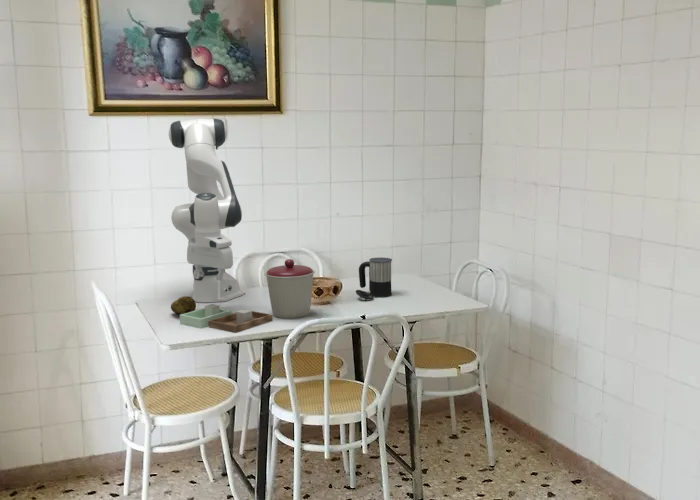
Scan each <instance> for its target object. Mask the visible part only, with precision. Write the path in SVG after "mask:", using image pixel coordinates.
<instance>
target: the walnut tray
mask: <svg viewBox="0 0 700 500" xmlns="http://www.w3.org/2000/svg"><path fill="white" fill-rule="evenodd" d="M249 311H252V320H251V321H248V322H245V323H242V324H238V325H237V318H236V312H234V313H231V314H230V315H227V316H223V317H220V318H217V319H213V320H210V321H208V322H209V326H208V328H210V329H214V330H219V331H224V332H230V333H233V334H237V333H240V332H243V331H246V330H249V329H253V328H255V327H258V326H261V325H264V324H268V323H271V322H273V320H274V318H273V314H271V313H265V312H259V311H255V310H250V309H249Z"/></svg>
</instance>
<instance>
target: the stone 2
mask: <svg viewBox="0 0 700 500" xmlns="http://www.w3.org/2000/svg"><path fill="white" fill-rule="evenodd" d="M249 310H250V309H249ZM249 310H248V309H242V310H237V311H235V313H236V318H237V325H238V324H242V323H245V322H248V321H251V320H252V311H253V310H250V311H249Z"/></svg>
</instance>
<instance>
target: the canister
mask: <svg viewBox="0 0 700 500" xmlns="http://www.w3.org/2000/svg"><path fill="white" fill-rule="evenodd" d="M315 273H316V271H315V269H313V268H312V267H310V266H306V265H302V264H295V260H294V259H291V258H288V259H286V260H285V261H284V265H279V266H278V265H277V266H273V267H271V268H268V270H266V271H264V276H266V281H267V288H268V294H269V295H268V296H269V301H270V306H271V311H272V315H273V316H274V317H275V318H279V319H289V320H290V319H300V318H303V317H307V316H309V314H310V311H311V306H312V295H313V282H314V274H315Z"/></svg>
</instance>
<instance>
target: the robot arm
mask: <svg viewBox="0 0 700 500" xmlns="http://www.w3.org/2000/svg"><path fill="white" fill-rule="evenodd" d="M227 136H228V130H227V127H226V125H225V123H224V121H223V120H222V119H219V118H213V119H212V118H197V119H195V118H194V119H185V120H176V121H174V122H172V123H171V124H170V127H169V128H168V138H169V140H170V143H171V145H172V147H174V148H177V149H183V148H184V155H185V161H186V163H185V164H186V176H187V187H188V189H189V190H190V191H191V192H192V193H194V194H196V195H195V196H194V201H193V203H186V204H180V205H176V206H175V207H174V209H173V211H172V213H171V222H172V223H171V224H172V225H173V227H174V228H175V229H176V230H177V231H179V232H181V234H183V235H184V236H185V237H186V239H187V240H188V245H187V249H186V250H187V251H186V260H187V263H188V264H191V265H192V275H193V285H192V286H193V289H192V295H191V296H192V297H191V298H193V299H194V301H195V303H196V302H197V303H216V302H223V303H224V302H227V301H231V300H234V299H235V298H238V297H240V296H243V295H246V292H245V290H243V289H240V286H239V281H238V279H236V278H235V277H234V276H232V275H231V274H230V273H228V272H226V270H229V269H231V268H233V265H234V257H233V250H232V248H231V247H232V240H231V239H230V238H228V237H227V236H225V235H223V234H222V233H221V230H225V229H229V228H234V227H236V226H237V225H238V224H239V223H240V222H241V221H242V217H243V211H242V207H241V205H240V202H239V199H238V197H237V193H236V191H235V188H234V184H233V181H232V178H231V175H230V172H229V169H228V166H227V164H226V162H225V161H223V160H221V159H220V158H219V157H218V155H217V153H216V150H218V148H219V147H221V146H223V145H224V144H225V142H226V139H227ZM217 183H219V184H220V187H221V190H222V193H221V191H220V190H219V186H218V184H217ZM222 194H223V195H222Z"/></svg>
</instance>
